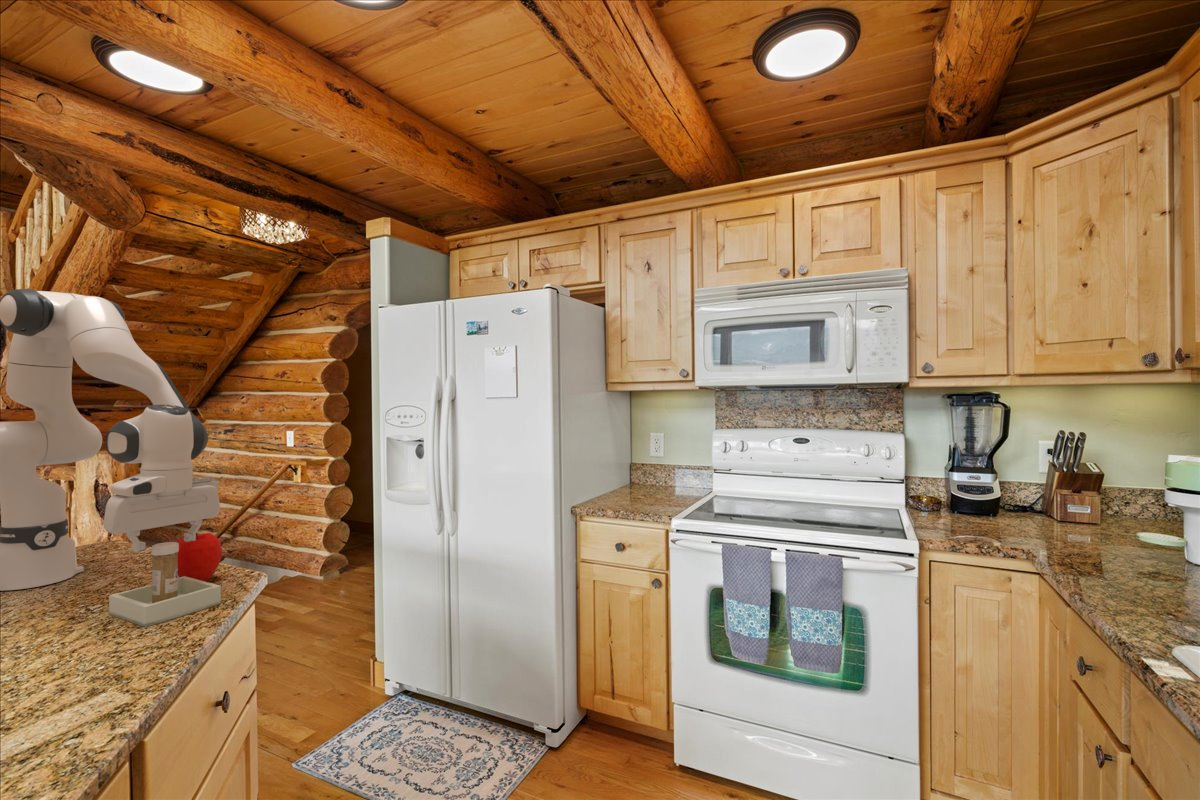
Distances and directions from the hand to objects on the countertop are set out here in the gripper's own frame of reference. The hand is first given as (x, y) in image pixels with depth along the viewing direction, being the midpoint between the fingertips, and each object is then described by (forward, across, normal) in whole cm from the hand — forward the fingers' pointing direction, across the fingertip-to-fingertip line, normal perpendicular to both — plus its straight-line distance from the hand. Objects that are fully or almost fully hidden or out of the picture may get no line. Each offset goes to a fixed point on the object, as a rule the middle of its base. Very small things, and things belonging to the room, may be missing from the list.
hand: (165, 546), depth 118 cm
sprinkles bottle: (+13, 0, +1) cm, 13 cm away
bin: (+13, 0, +1) cm, 13 cm away
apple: (+14, -13, -12) cm, 23 cm away
